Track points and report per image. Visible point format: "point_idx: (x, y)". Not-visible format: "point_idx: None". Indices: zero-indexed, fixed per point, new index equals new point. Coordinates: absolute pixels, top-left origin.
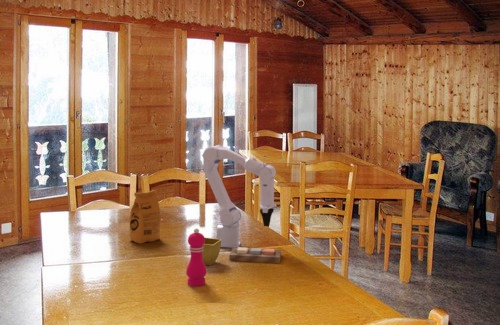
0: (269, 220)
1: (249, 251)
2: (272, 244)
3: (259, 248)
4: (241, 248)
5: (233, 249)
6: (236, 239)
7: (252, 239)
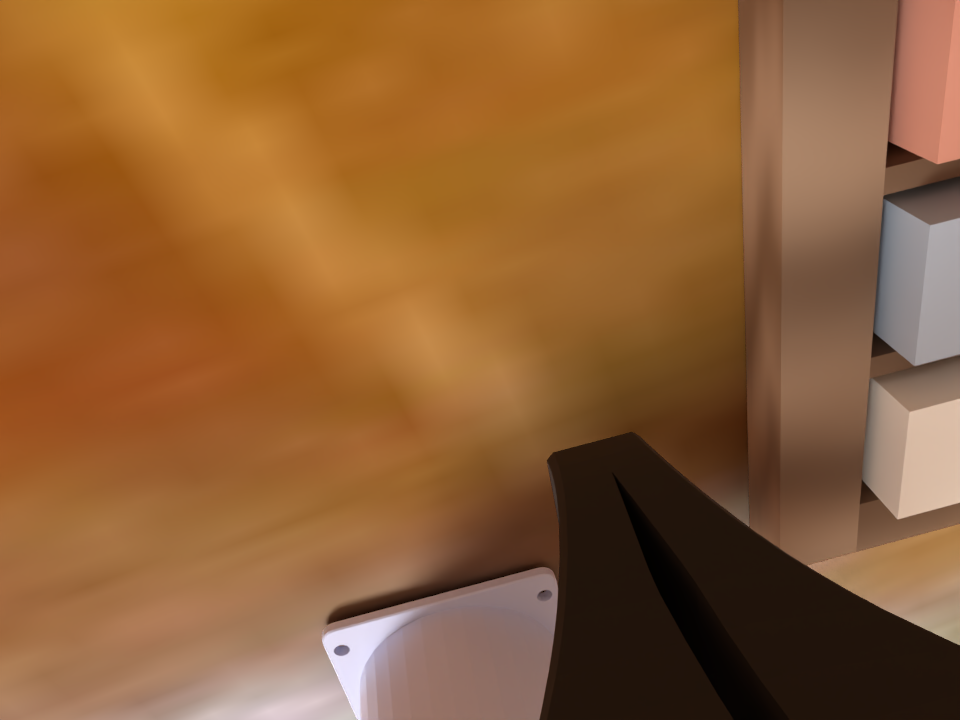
0: (748, 534)
1: None
2: (117, 251)
3: (940, 249)
4: (958, 464)
5: (847, 545)
6: (521, 676)
7: (40, 591)
